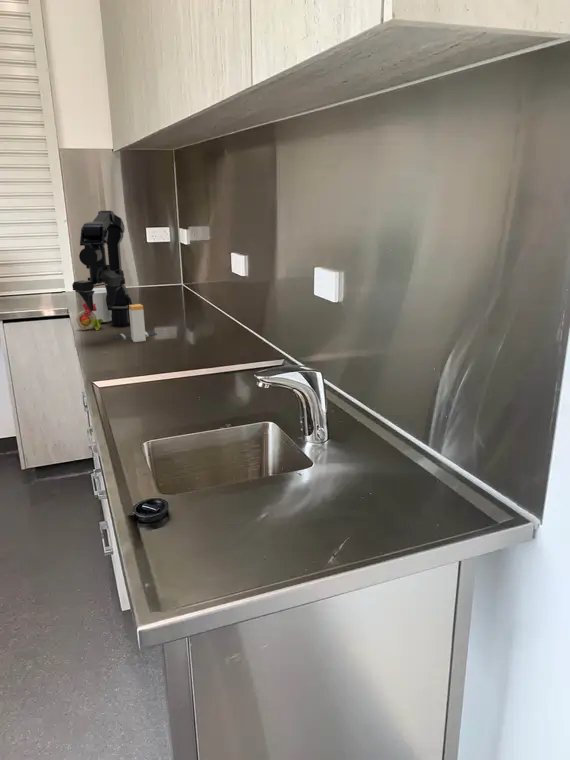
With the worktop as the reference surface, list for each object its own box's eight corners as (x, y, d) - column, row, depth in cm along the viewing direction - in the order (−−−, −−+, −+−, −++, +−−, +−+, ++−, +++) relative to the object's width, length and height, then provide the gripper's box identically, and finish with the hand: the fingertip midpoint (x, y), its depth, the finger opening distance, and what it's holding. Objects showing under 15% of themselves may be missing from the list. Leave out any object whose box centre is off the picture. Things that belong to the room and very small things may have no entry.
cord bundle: (116, 341, 206) (115, 337, 206) (113, 338, 211) (113, 334, 210) (157, 337, 213) (157, 333, 212) (154, 334, 217) (153, 330, 217)
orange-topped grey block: (131, 339, 207) (128, 304, 203) (143, 338, 208) (140, 303, 205) (134, 342, 203) (131, 307, 200) (145, 340, 205) (143, 306, 201)
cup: (119, 319, 240) (116, 288, 236) (110, 325, 231) (107, 292, 227) (96, 319, 241) (92, 288, 237) (86, 324, 232) (82, 292, 228)
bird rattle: (84, 338, 220) (106, 327, 221) (68, 311, 216) (91, 300, 217) (85, 334, 226) (106, 323, 227) (69, 308, 222) (91, 297, 223)
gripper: (93, 266, 186) (98, 315, 191) (135, 260, 202) (138, 305, 207) (68, 264, 192) (74, 312, 196) (111, 258, 207) (115, 302, 212)
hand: (102, 308), depth 203 cm, fingers open, 9 cm apart
